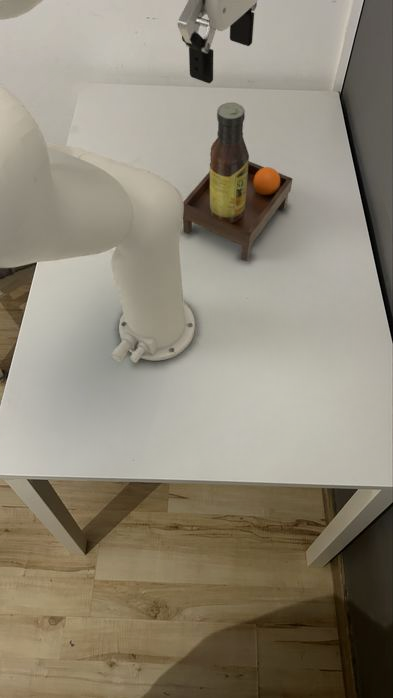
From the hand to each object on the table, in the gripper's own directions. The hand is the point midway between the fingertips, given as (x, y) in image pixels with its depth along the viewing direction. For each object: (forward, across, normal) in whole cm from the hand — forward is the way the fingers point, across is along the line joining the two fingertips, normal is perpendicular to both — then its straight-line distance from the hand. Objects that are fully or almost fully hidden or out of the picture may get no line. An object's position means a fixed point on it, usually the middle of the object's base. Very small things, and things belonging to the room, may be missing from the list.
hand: (221, 60), depth 65 cm
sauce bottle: (+28, +1, -1) cm, 28 cm away
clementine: (+28, +10, -4) cm, 29 cm away
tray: (+33, +5, -1) cm, 33 cm away
